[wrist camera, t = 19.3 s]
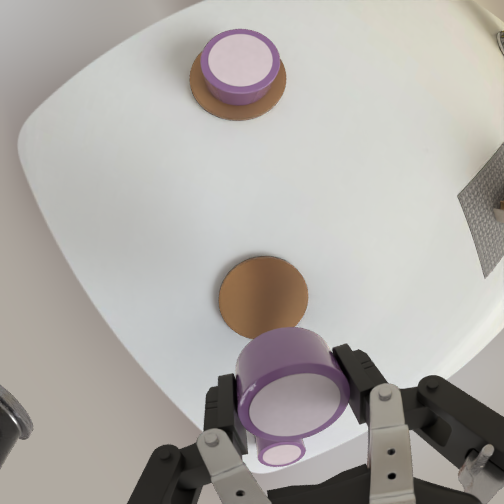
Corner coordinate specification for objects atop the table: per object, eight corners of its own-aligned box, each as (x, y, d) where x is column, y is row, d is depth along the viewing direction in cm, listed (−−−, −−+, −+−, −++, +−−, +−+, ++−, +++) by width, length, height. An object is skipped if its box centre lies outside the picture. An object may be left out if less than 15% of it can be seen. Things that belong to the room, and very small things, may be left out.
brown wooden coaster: (231, 345, 23) (231, 348, 23) (208, 268, 22) (207, 270, 21) (312, 324, 24) (314, 327, 23) (298, 246, 22) (300, 247, 21)
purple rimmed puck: (260, 451, 28) (263, 470, 25) (250, 427, 26) (252, 448, 23) (302, 441, 28) (308, 460, 25) (297, 416, 26) (302, 437, 23)
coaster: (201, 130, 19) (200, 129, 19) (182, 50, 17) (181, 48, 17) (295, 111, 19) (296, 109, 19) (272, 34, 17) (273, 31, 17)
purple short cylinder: (211, 112, 18) (209, 101, 15) (198, 54, 17) (193, 36, 14) (280, 98, 18) (289, 86, 16) (264, 42, 17) (269, 23, 14)
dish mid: (248, 410, 14) (252, 450, 12) (223, 340, 13) (222, 381, 10) (334, 388, 14) (351, 424, 12) (326, 314, 13) (348, 348, 10)
